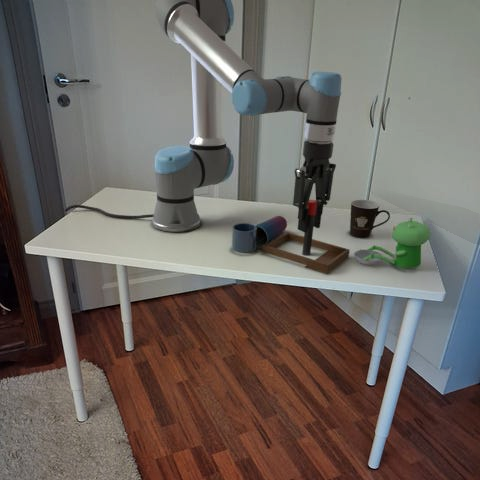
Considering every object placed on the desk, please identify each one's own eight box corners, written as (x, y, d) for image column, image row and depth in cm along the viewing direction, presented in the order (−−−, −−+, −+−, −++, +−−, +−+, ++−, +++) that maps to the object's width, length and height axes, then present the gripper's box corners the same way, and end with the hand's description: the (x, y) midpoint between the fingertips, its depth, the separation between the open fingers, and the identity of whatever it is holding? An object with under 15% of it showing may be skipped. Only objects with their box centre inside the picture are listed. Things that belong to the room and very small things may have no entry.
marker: (299, 254, 136) (305, 201, 128) (304, 251, 138) (310, 199, 129) (308, 256, 135) (314, 203, 126) (312, 253, 136) (318, 201, 128)
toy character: (359, 255, 141) (363, 212, 134) (424, 260, 136) (431, 216, 129) (357, 268, 133) (361, 224, 126) (425, 274, 128) (433, 228, 121)
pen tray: (262, 253, 137) (263, 245, 135) (286, 239, 146) (287, 232, 145) (327, 274, 127) (328, 265, 125) (348, 257, 136) (349, 249, 135)
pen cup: (226, 250, 138) (227, 228, 134) (240, 243, 143) (241, 221, 139) (246, 257, 134) (247, 234, 131) (260, 249, 139) (261, 226, 136)
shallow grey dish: (353, 265, 132) (354, 259, 131) (353, 254, 138) (354, 248, 137) (382, 269, 130) (383, 262, 129) (381, 257, 137) (383, 251, 136)
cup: (287, 236, 150) (265, 251, 139) (268, 230, 153) (245, 244, 141) (291, 216, 147) (269, 229, 135) (272, 210, 149) (249, 222, 138)
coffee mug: (341, 234, 152) (345, 203, 147) (355, 227, 158) (360, 197, 152) (373, 244, 145) (379, 213, 140) (386, 237, 151) (393, 206, 146)
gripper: (305, 147, 113) (295, 239, 125) (353, 140, 122) (339, 226, 135) (283, 141, 117) (276, 231, 130) (330, 134, 127) (320, 218, 140)
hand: (308, 228), depth 132 cm, fingers open, 5 cm apart
